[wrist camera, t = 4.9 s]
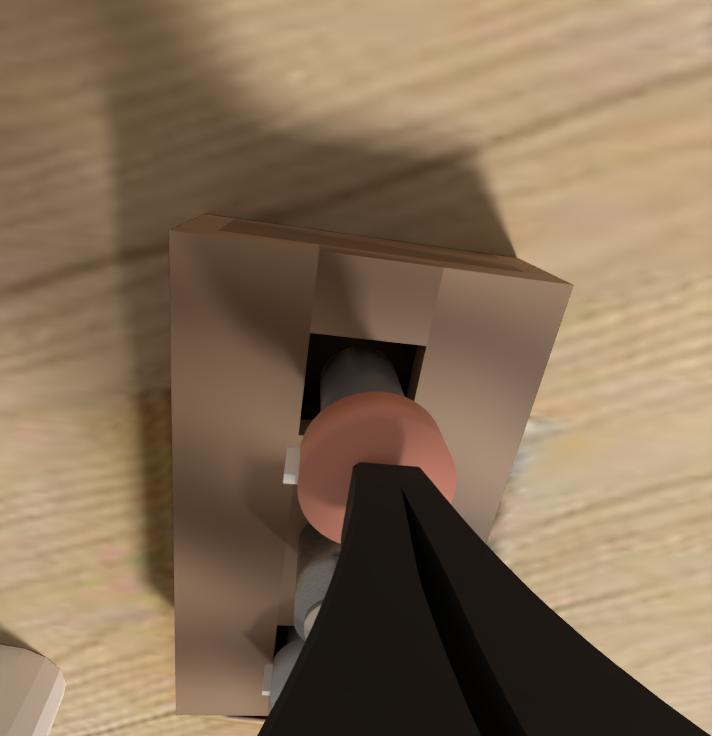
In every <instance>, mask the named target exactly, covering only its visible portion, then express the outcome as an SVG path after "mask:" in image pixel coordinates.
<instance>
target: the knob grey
mask: <svg viewBox="0 0 712 736" xmlns="http://www.w3.org/2000/svg"><path fill="white" fill-rule="evenodd" d="M304 643H305V641H304V640H303V639H302V638H301V637H300V636H299V635H298V633H297V631H296V629H295V627H294V626H288V637H287V645H286V646H284V647H283V648H282V649H281V650H280V651H279V652H278V653H277V655H276V656H275V658H274V661H273V664H265V670H264V679H263V689H262V695H270V703H271V706H272V708H273V706H274V704H275V702H276V700H277V699H278V697H279V695H280V693H281V691H282V689H283V687H284V685H285V683H286V681H287V679H288V677H289V675H290V673H291V671H292V669H293V667H294V665H295V663H296V660H297V658H298V656H299V654H300V652H301V650H302V648H303V645H304Z"/></svg>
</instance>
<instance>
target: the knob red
mask: <svg viewBox="0 0 712 736" xmlns="http://www.w3.org/2000/svg"><path fill="white" fill-rule="evenodd" d="M320 397H321V412H320V413H319V414H318V415H317V416H316V417H315V418H314V419H313V421H312V422H311V423H310V425H309V426H308V428H307V430H306V432H305V434H304V436H303V439H302V442H301V447H300V448H293V447H287V451H286V460H285V469H284V479H283V483H284V484H298V489H297V492H298V500H299V503H300V507H301V509H302V511H303V513H304V515H305V517H306V518H307V520H308V521H309V523H310V524H311V525H312V526H313V527H314V528H315V529H316V530H317V531H319V532H320V533H321V534H322V535H324V536H326V537H327V538H329V539H331V540H333V541H335V542H337V543H340V544H341V533H342V527H343V521H344V516H345V510H346V504H347V498H348V492H349V487H350V481H351V475H352V469H353V466H354V465H356V464H357V463H359V462H365V463H378V464H391V465H404V466H416V467H420V468H421V469H422V470H423V471H424V473H425V474H426V475H427V476H428V477H429V479H430V480H431V481H432V482H433V483H434V485H435V486H436V487H437V488H438V489H439V491H440V492H441V493H442V494H443V495H444V497H445V498H446V499H447V500H448V501H449V503H450V504H451V503H452V500H453V497H454V495H455V490H456V485H457V474H456V467H455V464H454V461H453V458H452V456H451V454H450V452H449V449H448V447H447V445H446V443H445V441H444V438H443V436H442V434H441V432H440V430H439V427H438V425H437V423H436V422H435V420H434V419H433V417H432V416H431V415H430V414H429V413H428V412H427V410H425V409H424V408H423V407H422V406H421V405H419V404H418V403H416V402H414V401H413V400H411V399H409V398H406V397H405V396H404V394H403V391H402V388H401V385H400V383H399V380H398V377H397V375H396V372H395V369H394V367H393V365H392V363H391V362H390V360H389V359H388V358H387V357H386V356H385V355H384V354H382V353H381V352H379V351H377V350H375V349H372V348H369V347H351V348H347V349H344V350H342V351H340V352H338V353H337V354H335V355H334V356H333V357H332V358H331V359H330V360H329V361H328V362H327V363H326V365H325V367H324V369H323V371H322V374H321V380H320Z"/></svg>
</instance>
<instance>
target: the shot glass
mask: <svg viewBox="0 0 712 736" xmlns="http://www.w3.org/2000/svg"><path fill="white" fill-rule="evenodd" d="M65 687H66V681H65V679H64V677H63V675H62V672H61V670H60V669H59V668H58V667H57V666H55V665H54V664H53V663H52V662H51V661H50V660H48V659H47V658H46V657H44V656H41V655H39V654H37V653H34V652H32V651H30V650H27V649H24V648H18V647H12V646H6V645H0V736H48V735H49V732H50V730H51V727H52V725H53V722H54V719H55V717H56V714H57V711H58V709H59V706H60V704H61V701H62V698H63V696H64V691H65Z"/></svg>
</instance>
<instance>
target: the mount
mask: <svg viewBox="0 0 712 736" xmlns="http://www.w3.org/2000/svg"><path fill="white" fill-rule="evenodd" d="M169 270H170V338H171V406H172V473H173V541H174V609H175V676H176V715H254V716H268V715H269V713H270V711H271V710H272V706H271V703H270V695H262V689H263V679H264V670H265V664H273V661H274V658H275V656H276V655H277V653H278V652H279V651H280V650H281V649H282V648H283V647H284V646H286V645H287V637H288V626H294V609H295V590H296V572H297V553H298V539H299V536H300V533H301V532H302V530H303V529H304V528H305V526H306V525H308V524H309V521H308V520H307V518H306V517H305V515H304V513H303V511H302V509H301V507H300V503H299V500H298V492H297V489H298V484H284V483H283V479H284V469H285V460H286V451H287V447H293V448H300V447H301V442H302V439H303V436H304V434H305V432H306V430H307V428H308V426H309V425H310V423H311V422H312V421H313V420H305V419H300V417H301V408H302V399H303V390H304V382H305V373H306V364H307V355H308V346H309V337H310V333H315V334H324V335H333V336H342V337H351V338H360V339H369V340H378V341H386V342H395V343H404V344H413V345H417V349H416V354H415V359H414V363H413V368H412V373H411V378H410V382H409V387H408V392H407V396H406V398H409V399H411V400H413V401H414V402H416V403H418V404H419V405H421V406H422V407H423V408H424V409H425V410H427V412H428V413H429V414H430V415H431V416H432V417H433V419H434V420H435V422H436V423H437V425H438V427H439V430H440V432H441V434H442V436H443V438H444V441H445V443H446V445H447V447H448V449H449V452H450V454H451V456H452V458H453V461H454V464H455V467H456V474H457V485H456V490H455V495H454V497H453V500H452V503H451V505H452V506H453V507H454V508H455V510H456V511H457V512H458V513H459V514H460V515H461V517H462V518H463V519H464V520H465V521H466V522H467V524H468V525H469V526H470V527H471V528H472V529H473V530H474V531H475V533H476V534H477V535H478V536H479V537H480V538H481V539H482V540H483V541H484V543H485V544H486V542H487V539H488V537H489V534H490V531H491V528H492V525H493V522H494V519H495V516H496V513H497V510H498V507H499V504H500V501H501V498H502V495H503V492H504V489H505V486H506V483H507V480H508V477H509V475H510V472H511V469H512V466H513V463H514V460H515V457H516V454H517V451H518V448H519V445H520V442H521V439H522V436H523V433H524V430H525V427H526V424H527V421H528V418H529V415H530V412H531V410H532V407H533V404H534V401H535V398H536V395H537V392H538V389H539V386H540V383H541V380H542V377H543V374H544V371H545V368H546V365H547V362H548V359H549V356H550V353H551V350H552V348H553V345H554V342H555V339H556V336H557V333H558V330H559V327H560V324H561V321H562V318H563V315H564V312H565V309H566V306H567V303H568V300H569V297H570V294H571V291H572V288H573V285H572V284H570V283H568V282H566V281H564V280H562V279H560V278H558V277H556V276H554V275H552V274H550V273H548V272H545V271H543V270H541V269H539V268H537V267H535V266H533V265H531V264H529V263H527V262H525V261H523V260H521V259H519V258H513V257H506V256H499V255H492V254H485V253H478V252H471V251H464V250H457V249H450V248H443V247H435V246H428V245H421V244H414V243H407V242H400V241H393V240H386V239H379V238H372V237H365V236H357V235H350V234H343V233H336V232H329V231H322V230H315V229H308V228H301V227H294V226H286V225H279V224H272V223H265V222H258V221H251V220H244V219H237V218H230V217H223V216H216V215H208V214H203V215H201V216H199V217H197V218H195V219H193V220H190V221H188V222H186V223H184V224H182V225H180V226H177V227H175V228H173V229H171V230H169Z"/></svg>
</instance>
